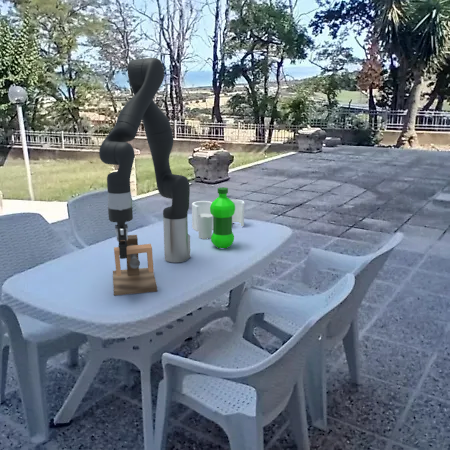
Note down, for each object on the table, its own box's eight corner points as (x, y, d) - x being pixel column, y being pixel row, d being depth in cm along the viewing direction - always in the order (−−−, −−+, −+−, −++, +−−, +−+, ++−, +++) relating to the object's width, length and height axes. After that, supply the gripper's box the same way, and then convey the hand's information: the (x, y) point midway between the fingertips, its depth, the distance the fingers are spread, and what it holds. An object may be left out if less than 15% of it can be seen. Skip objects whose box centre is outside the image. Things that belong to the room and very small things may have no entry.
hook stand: (113, 274, 171) (110, 234, 167) (152, 271, 174) (150, 232, 170) (114, 302, 149) (111, 257, 145) (159, 298, 152) (157, 254, 148)
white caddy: (240, 222, 235) (241, 198, 232) (246, 228, 226) (246, 203, 223) (190, 225, 230) (190, 201, 226) (194, 231, 221) (193, 206, 217)
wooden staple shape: (152, 267, 161) (150, 243, 159) (153, 271, 157) (151, 247, 155) (116, 271, 158) (113, 247, 156) (116, 276, 155) (114, 251, 152)
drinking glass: (210, 240, 209) (210, 218, 206) (196, 239, 210) (195, 217, 207) (214, 235, 215) (214, 214, 212) (199, 234, 216) (199, 213, 214)
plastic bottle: (235, 243, 205) (236, 186, 198) (233, 251, 195) (234, 191, 188) (212, 242, 206) (212, 185, 199) (209, 250, 196) (208, 191, 189)
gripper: (107, 200, 156) (110, 247, 161) (108, 211, 143) (111, 262, 148) (131, 199, 158) (133, 246, 163) (133, 210, 145) (136, 260, 149)
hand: (123, 253), depth 155 cm, fingers open, 8 cm apart
